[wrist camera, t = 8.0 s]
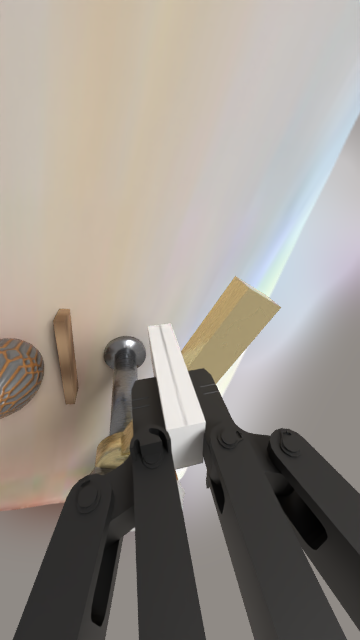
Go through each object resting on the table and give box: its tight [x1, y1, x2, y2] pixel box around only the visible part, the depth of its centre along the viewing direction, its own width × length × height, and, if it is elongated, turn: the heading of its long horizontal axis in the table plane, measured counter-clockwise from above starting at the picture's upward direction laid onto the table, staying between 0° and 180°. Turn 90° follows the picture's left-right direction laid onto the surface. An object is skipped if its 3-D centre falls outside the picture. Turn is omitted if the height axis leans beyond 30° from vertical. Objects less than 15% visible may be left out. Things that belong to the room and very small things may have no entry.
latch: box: [90, 276, 281, 475], centre depth 14 cm, size 5×18×4 cm, turn 148°
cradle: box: [53, 309, 78, 404], centre depth 25 cm, size 12×12×2 cm
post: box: [104, 336, 146, 435], centre depth 23 cm, size 5×5×12 cm
